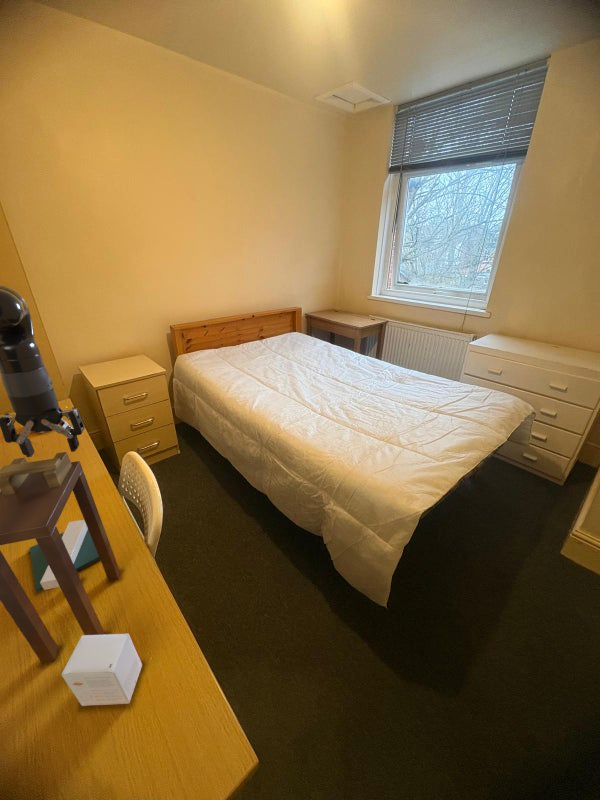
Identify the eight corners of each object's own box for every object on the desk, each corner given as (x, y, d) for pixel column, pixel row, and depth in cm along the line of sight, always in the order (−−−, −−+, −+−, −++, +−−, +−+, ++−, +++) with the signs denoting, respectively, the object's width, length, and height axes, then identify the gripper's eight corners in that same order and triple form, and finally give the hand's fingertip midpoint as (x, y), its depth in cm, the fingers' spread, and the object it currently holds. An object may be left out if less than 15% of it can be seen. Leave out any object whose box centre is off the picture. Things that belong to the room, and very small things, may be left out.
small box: (143, 665, 58) (130, 632, 53) (129, 705, 53) (113, 672, 48) (98, 666, 58) (81, 633, 53) (80, 707, 53) (59, 674, 48)
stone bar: (43, 590, 69) (39, 582, 68) (72, 528, 84) (69, 521, 83) (64, 585, 70) (61, 578, 69) (89, 525, 85) (86, 518, 84)
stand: (42, 664, 58) (-52, 522, 42) (71, 583, 72) (8, 452, 56) (103, 646, 61) (36, 506, 45) (120, 571, 74) (73, 444, 58)
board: (37, 592, 70) (35, 589, 69) (31, 550, 79) (29, 547, 79) (108, 555, 78) (107, 552, 78) (94, 521, 88) (93, 518, 87)
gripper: (-23, 398, 61) (7, 467, 68) (63, 392, 65) (84, 457, 72) (-3, 384, 68) (23, 447, 75) (75, 378, 72) (92, 439, 79)
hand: (53, 452), depth 73 cm, fingers open, 8 cm apart
